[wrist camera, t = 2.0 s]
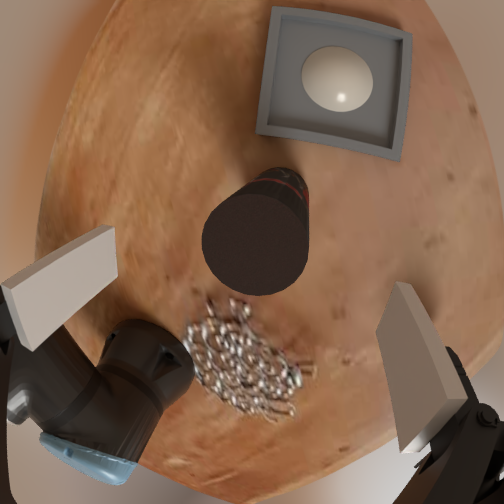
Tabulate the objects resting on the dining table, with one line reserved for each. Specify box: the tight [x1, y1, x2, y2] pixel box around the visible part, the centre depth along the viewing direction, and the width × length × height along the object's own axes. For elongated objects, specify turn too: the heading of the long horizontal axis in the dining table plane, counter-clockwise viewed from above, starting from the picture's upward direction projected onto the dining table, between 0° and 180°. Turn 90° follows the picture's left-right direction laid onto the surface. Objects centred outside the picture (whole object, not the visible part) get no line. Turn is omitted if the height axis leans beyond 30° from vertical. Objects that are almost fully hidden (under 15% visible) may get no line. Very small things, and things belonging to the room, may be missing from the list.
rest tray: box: [255, 6, 412, 162], centre depth 23 cm, size 14×14×2 cm
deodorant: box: [202, 167, 309, 296], centre depth 23 cm, size 6×6×15 cm
